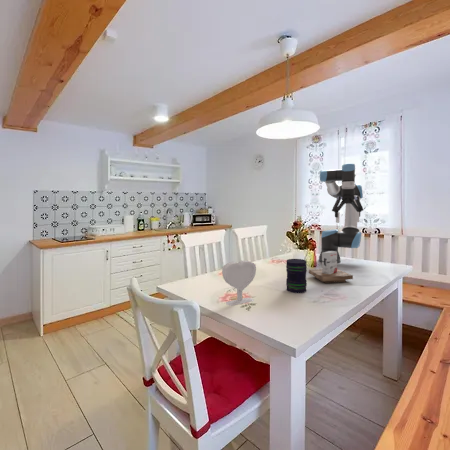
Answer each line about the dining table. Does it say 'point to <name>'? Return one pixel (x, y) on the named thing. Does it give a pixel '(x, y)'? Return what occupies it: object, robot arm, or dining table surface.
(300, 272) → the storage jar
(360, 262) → the dining table surface
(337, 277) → the walnut stand
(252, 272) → the heart sculpture
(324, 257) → the ink box
